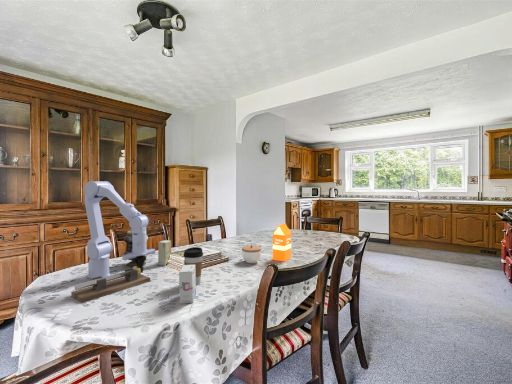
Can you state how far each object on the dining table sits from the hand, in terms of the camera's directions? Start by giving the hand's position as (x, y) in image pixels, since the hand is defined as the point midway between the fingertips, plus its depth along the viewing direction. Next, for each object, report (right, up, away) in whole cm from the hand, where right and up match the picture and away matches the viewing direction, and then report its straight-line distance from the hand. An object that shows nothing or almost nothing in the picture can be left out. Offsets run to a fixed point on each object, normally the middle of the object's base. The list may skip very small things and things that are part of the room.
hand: (139, 272), depth 120 cm
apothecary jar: (-12, -3, +23) cm, 26 cm away
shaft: (-8, -1, -10) cm, 13 cm away
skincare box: (+3, -3, +24) cm, 24 cm away
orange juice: (+67, -3, +36) cm, 76 cm away
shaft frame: (-7, -4, -9) cm, 12 cm away
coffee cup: (+25, -4, -3) cm, 25 cm away
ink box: (+26, -5, -18) cm, 32 cm away
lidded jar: (+49, -3, +29) cm, 58 cm away
